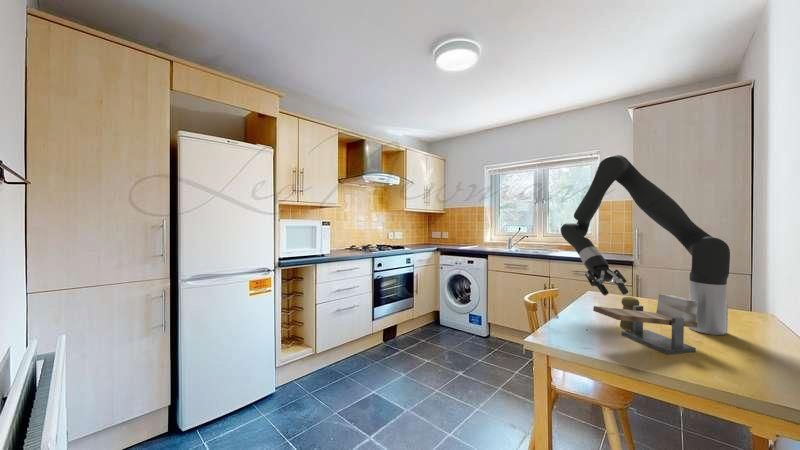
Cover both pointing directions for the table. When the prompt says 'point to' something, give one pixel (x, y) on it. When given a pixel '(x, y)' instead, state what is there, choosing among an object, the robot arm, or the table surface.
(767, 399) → the table surface
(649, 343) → the beam stand
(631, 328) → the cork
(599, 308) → the balance beam
